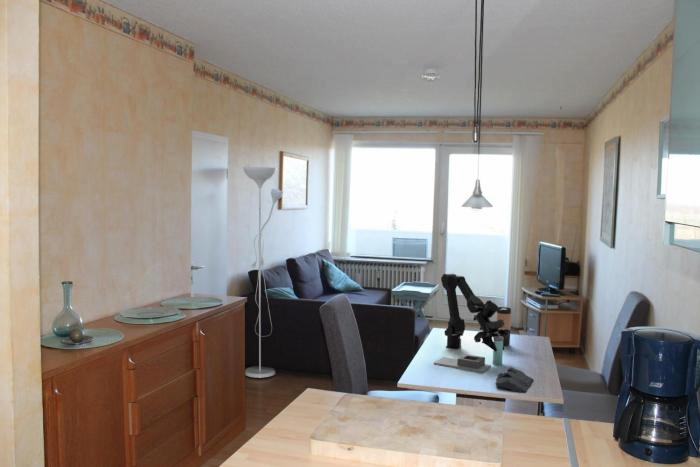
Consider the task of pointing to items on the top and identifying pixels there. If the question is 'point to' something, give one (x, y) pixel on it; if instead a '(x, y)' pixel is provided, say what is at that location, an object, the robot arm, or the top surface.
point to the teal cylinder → (498, 350)
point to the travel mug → (505, 322)
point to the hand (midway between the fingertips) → (500, 350)
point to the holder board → (454, 364)
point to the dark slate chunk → (514, 380)
